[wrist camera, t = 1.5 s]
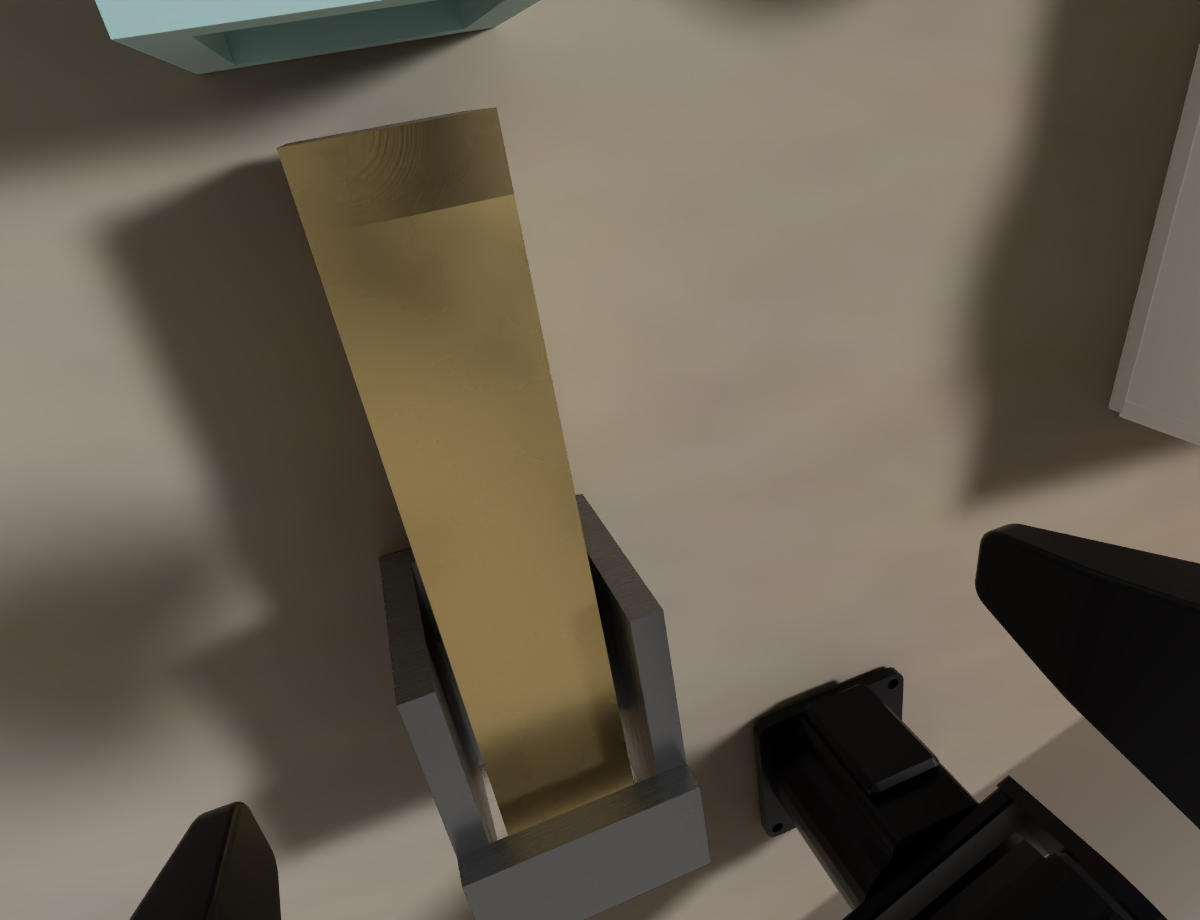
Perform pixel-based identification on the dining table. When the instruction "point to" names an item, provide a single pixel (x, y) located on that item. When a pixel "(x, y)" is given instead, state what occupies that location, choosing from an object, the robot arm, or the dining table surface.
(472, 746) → the sleeve
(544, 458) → the peg
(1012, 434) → the dining table surface
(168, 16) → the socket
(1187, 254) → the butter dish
